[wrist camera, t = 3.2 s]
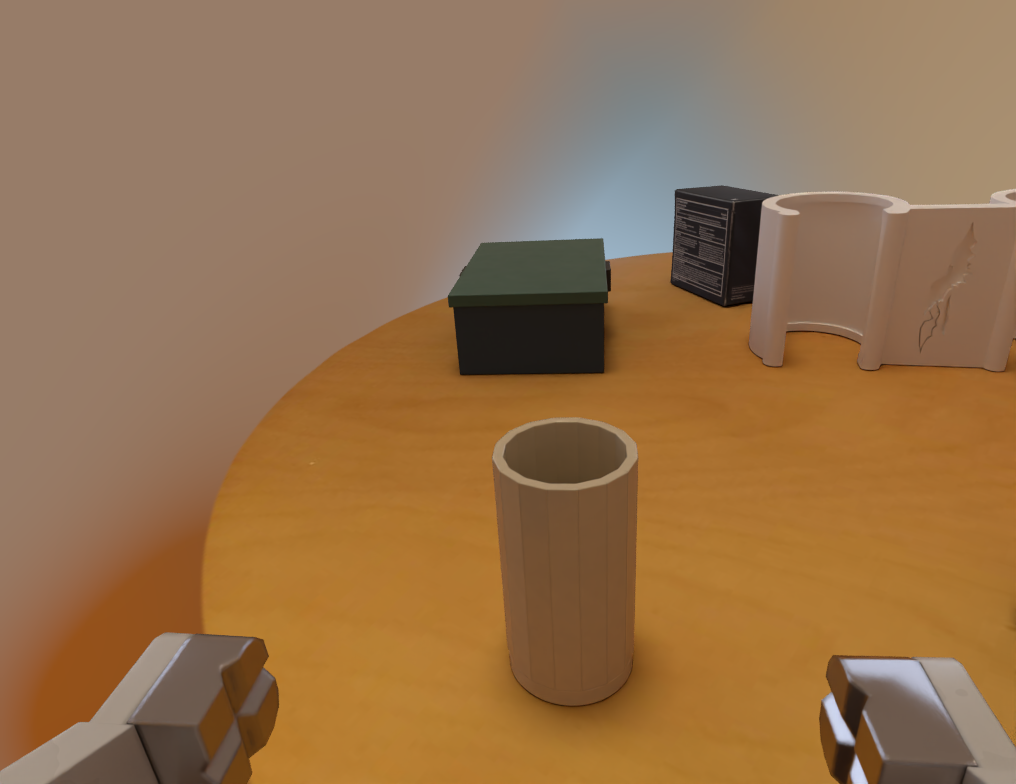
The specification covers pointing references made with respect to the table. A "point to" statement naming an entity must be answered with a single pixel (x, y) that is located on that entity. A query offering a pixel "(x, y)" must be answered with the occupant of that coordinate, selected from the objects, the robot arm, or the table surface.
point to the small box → (717, 242)
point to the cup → (568, 556)
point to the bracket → (888, 278)
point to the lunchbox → (532, 308)
